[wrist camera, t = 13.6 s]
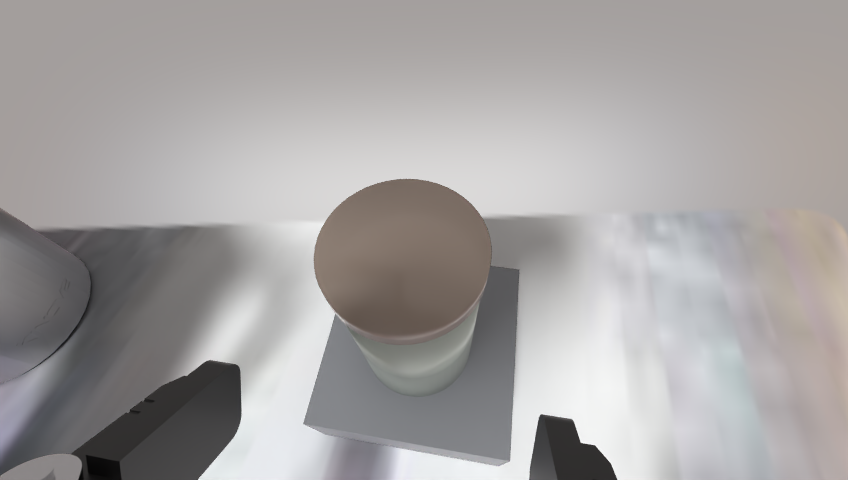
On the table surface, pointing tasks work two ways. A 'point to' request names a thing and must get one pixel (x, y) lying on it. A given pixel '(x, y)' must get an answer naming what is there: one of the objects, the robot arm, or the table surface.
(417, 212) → the canister
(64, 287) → the robot arm
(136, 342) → the table surface
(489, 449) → the stand
